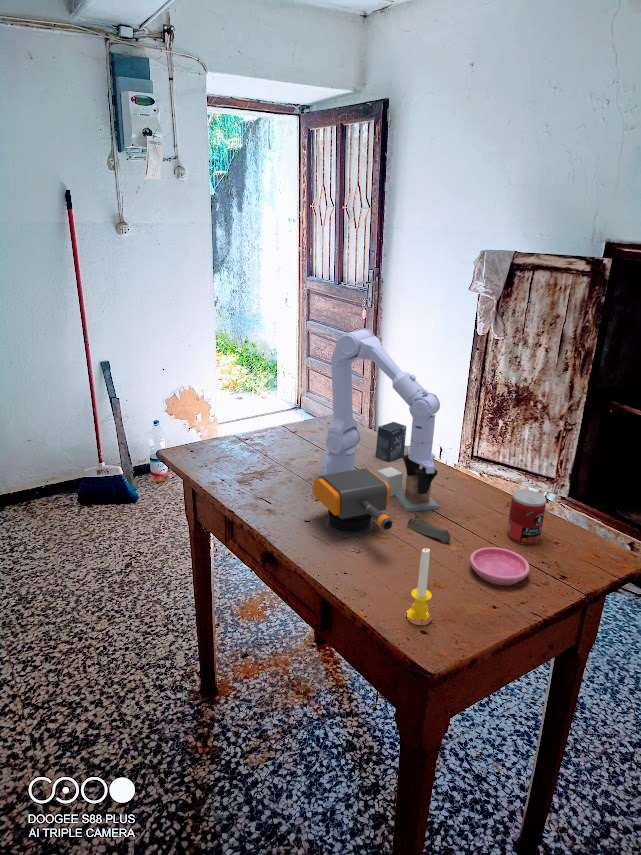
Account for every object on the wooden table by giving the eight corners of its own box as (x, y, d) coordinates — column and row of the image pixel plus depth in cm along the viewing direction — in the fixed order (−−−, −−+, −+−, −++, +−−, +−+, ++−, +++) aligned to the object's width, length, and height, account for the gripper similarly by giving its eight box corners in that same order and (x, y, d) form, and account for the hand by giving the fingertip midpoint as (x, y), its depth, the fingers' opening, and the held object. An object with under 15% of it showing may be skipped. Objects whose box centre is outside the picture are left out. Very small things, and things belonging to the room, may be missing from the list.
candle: (405, 624, 112) (411, 553, 107) (406, 607, 117) (412, 538, 112) (432, 628, 112) (440, 556, 106) (432, 611, 117) (440, 541, 111)
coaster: (406, 511, 155) (406, 508, 155) (394, 496, 164) (394, 493, 163) (438, 508, 157) (438, 505, 157) (424, 493, 166) (425, 490, 165)
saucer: (457, 564, 133) (458, 552, 132) (501, 553, 138) (503, 542, 137) (493, 596, 122) (495, 583, 121) (540, 583, 127) (542, 570, 126)
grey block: (387, 496, 164) (388, 477, 161) (376, 490, 167) (377, 470, 165) (401, 492, 166) (402, 473, 164) (389, 486, 170) (391, 467, 168)
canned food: (523, 548, 140) (530, 506, 136) (499, 532, 146) (505, 492, 143) (546, 541, 143) (554, 500, 139) (522, 526, 150) (528, 486, 146)
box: (388, 462, 186) (391, 431, 183) (375, 457, 190) (377, 426, 186) (404, 456, 191) (407, 425, 188) (391, 451, 195) (393, 421, 192)
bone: (403, 525, 149) (404, 512, 148) (418, 520, 152) (420, 508, 150) (437, 549, 139) (439, 536, 138) (453, 545, 141) (455, 531, 140)
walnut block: (411, 504, 157) (413, 483, 155) (404, 495, 162) (406, 475, 160) (429, 502, 158) (431, 482, 156) (422, 494, 163) (424, 474, 161)
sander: (357, 566, 131) (360, 515, 126) (310, 516, 152) (311, 470, 147) (413, 552, 137) (418, 503, 132) (361, 506, 158) (363, 462, 153)
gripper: (447, 449, 149) (442, 498, 153) (425, 429, 162) (420, 475, 167) (421, 451, 147) (416, 500, 152) (400, 431, 160) (397, 476, 165)
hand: (417, 487), depth 159 cm, fingers open, 7 cm apart
